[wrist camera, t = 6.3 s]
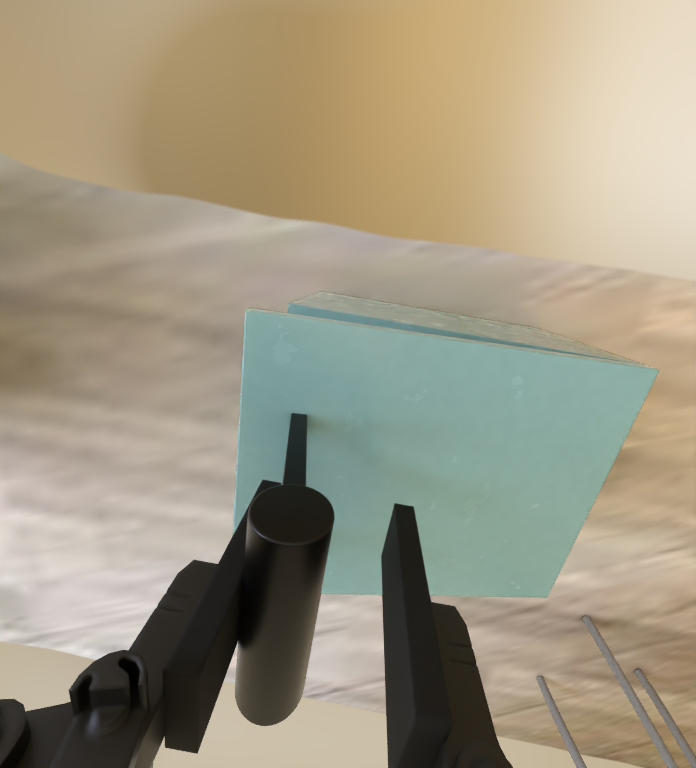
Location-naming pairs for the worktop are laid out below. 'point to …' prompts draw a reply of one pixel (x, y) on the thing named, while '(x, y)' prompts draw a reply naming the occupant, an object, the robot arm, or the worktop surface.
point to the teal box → (439, 324)
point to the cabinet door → (406, 472)
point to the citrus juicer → (649, 726)
